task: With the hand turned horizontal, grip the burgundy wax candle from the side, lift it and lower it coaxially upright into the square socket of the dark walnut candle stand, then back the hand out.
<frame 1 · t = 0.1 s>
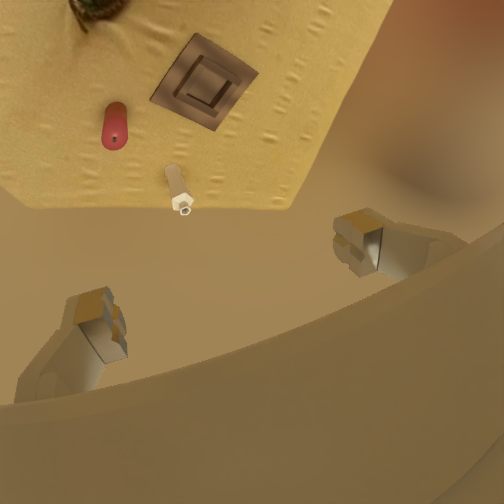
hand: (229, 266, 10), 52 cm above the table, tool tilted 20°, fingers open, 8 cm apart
walnut stand: (204, 83, 51), on the table
perfume bottle: (171, 170, 64), on the table
burgundy candle: (115, 112, 48), on the table
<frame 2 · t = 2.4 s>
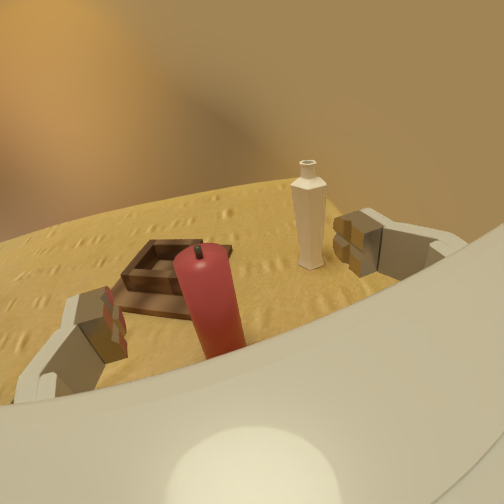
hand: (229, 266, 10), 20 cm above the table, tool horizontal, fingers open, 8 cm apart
walnut stand: (169, 278, 44), on the table
perfume bottle: (312, 263, 43), on the table
burgundy candle: (227, 357, 30), on the table
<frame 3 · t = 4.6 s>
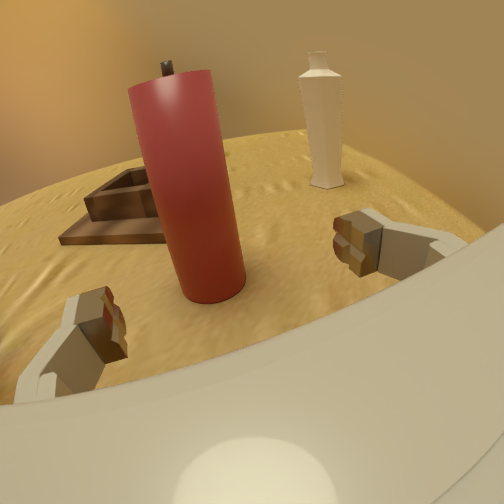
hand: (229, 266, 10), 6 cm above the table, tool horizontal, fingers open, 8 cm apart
walnut stand: (145, 208, 33), on the table
perfume bottle: (328, 184, 33), on the table
burgundy candle: (213, 281, 20), on the table
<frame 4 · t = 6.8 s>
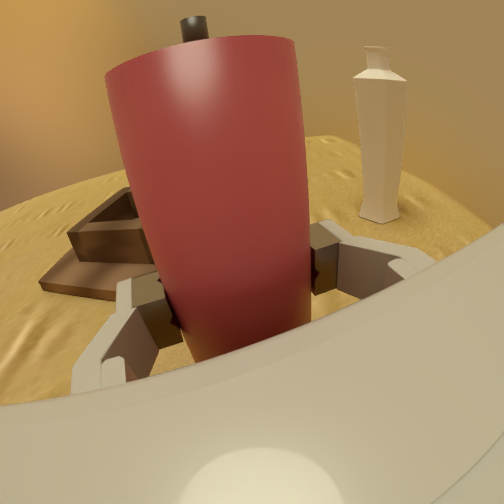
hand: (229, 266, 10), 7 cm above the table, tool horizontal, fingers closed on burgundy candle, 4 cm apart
walnut stand: (148, 242, 26), on the table
perfume bottle: (380, 215, 25), on the table
burgundy candle: (261, 389, 13), on the table, touching gripper
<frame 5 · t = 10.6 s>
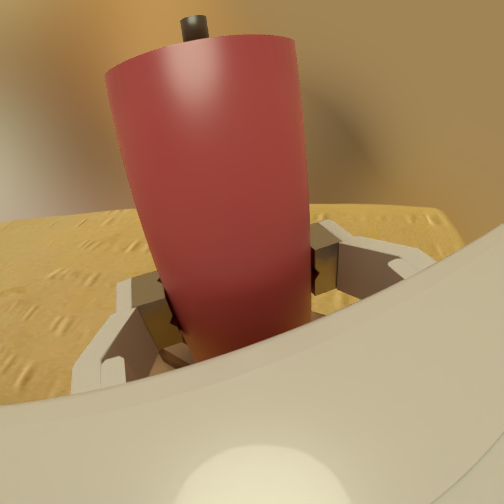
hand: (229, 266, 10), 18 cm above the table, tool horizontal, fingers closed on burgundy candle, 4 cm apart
walnut stand: (230, 353, 28), on the table
burgundy candle: (261, 389, 13), point 11 cm above the table, touching gripper
when the fingers open (9 cm above the table, at t = 14.4 s): burgundy candle drops 1 cm, resting on walnut stand.
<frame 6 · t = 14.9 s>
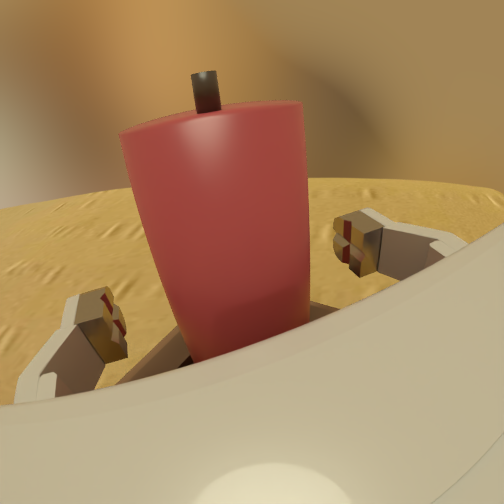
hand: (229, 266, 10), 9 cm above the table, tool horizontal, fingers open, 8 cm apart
walnut stand: (265, 412, 14), on the table
burgundy candle: (261, 404, 13), point 1 cm above the table, touching walnut stand
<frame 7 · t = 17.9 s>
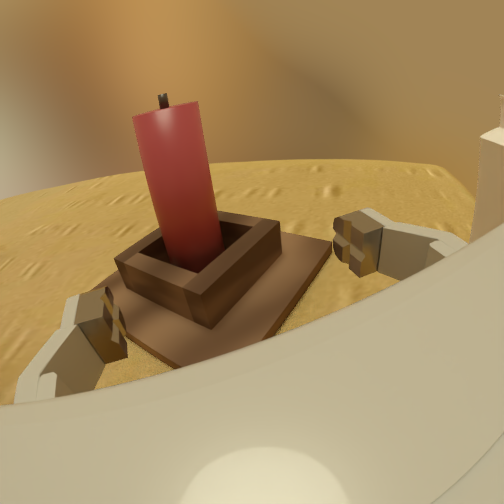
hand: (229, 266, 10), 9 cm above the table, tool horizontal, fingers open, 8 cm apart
walnut stand: (205, 280, 24), on the table
perfume bottle: (470, 309, 17), on the table
burgundy candle: (201, 271, 24), point 1 cm above the table, touching walnut stand
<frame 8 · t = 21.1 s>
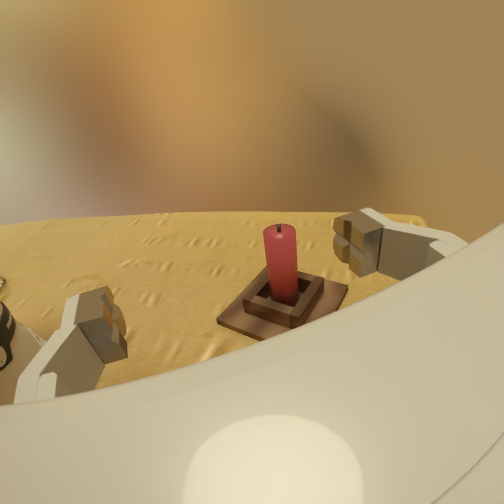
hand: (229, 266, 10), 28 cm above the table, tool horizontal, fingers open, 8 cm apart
walnut stand: (285, 306, 48), on the table
burgundy candle: (284, 302, 47), point 1 cm above the table, touching walnut stand
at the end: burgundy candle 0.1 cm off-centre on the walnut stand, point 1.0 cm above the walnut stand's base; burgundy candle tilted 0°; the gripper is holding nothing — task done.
